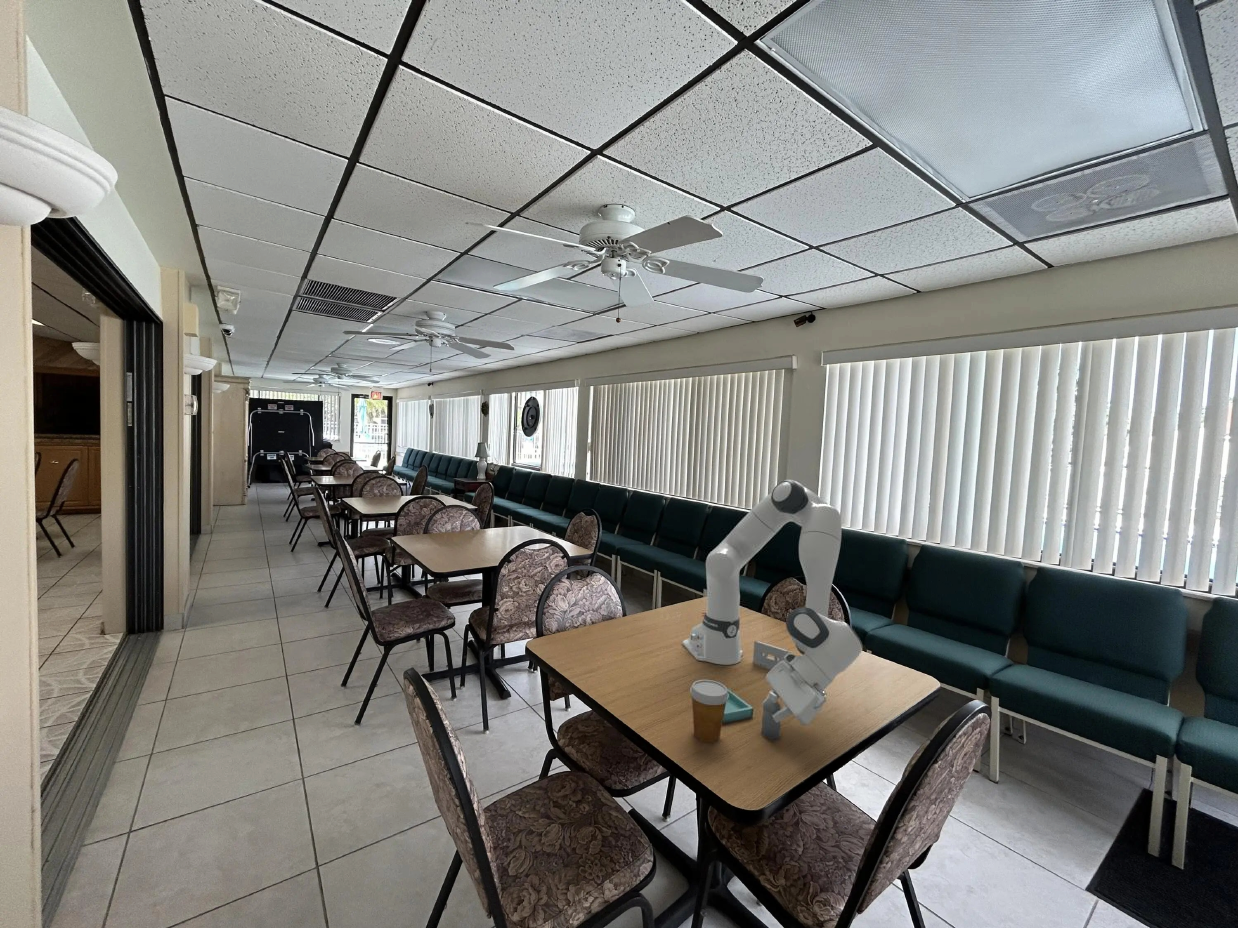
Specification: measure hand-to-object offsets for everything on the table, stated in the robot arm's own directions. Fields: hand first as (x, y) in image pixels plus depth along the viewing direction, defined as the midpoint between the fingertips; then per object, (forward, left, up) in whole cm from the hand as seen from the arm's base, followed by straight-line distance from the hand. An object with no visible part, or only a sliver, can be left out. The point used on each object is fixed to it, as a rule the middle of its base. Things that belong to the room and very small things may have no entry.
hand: (769, 712), depth 126 cm
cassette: (-31, +28, -6) cm, 42 cm away
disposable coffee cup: (-5, -15, -6) cm, 17 cm away
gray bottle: (0, +1, -5) cm, 5 cm away
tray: (-14, -3, -5) cm, 15 cm away
